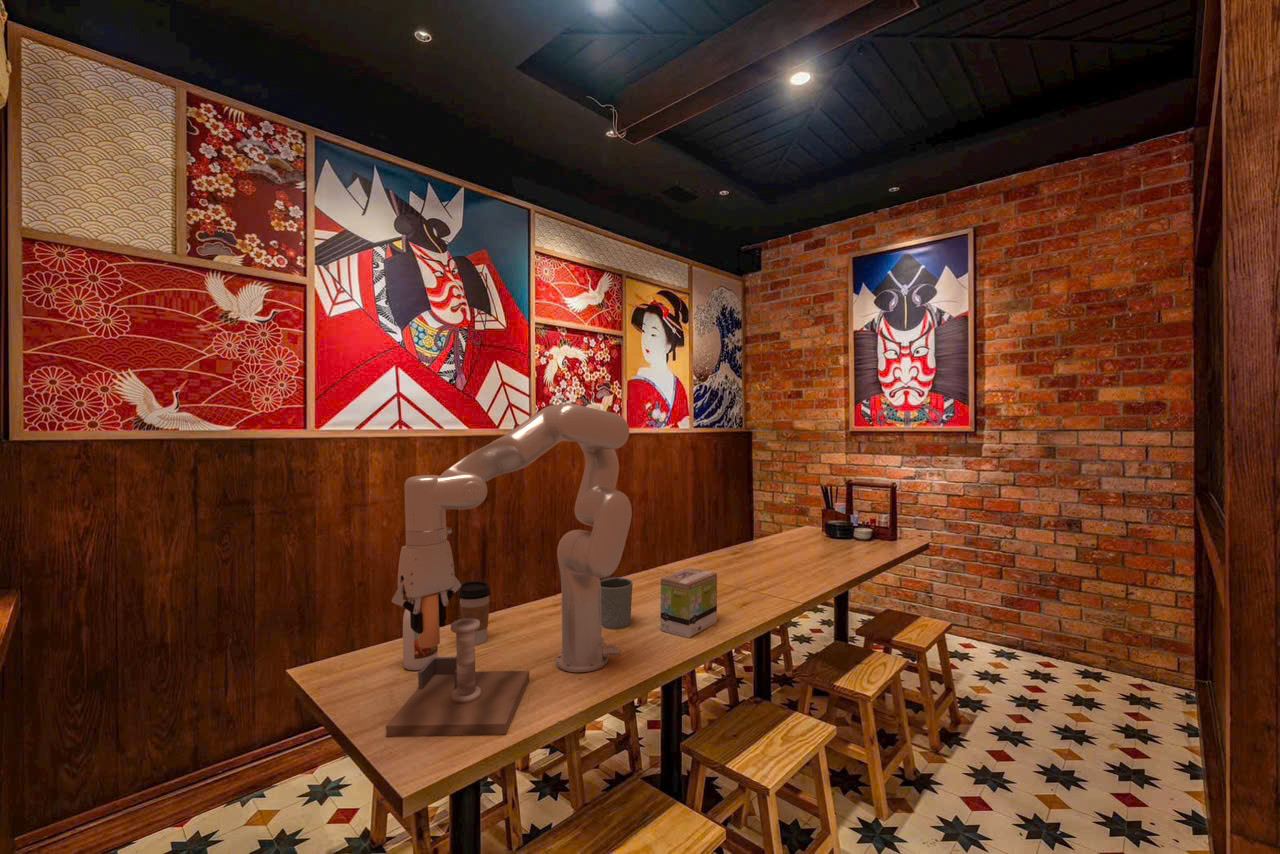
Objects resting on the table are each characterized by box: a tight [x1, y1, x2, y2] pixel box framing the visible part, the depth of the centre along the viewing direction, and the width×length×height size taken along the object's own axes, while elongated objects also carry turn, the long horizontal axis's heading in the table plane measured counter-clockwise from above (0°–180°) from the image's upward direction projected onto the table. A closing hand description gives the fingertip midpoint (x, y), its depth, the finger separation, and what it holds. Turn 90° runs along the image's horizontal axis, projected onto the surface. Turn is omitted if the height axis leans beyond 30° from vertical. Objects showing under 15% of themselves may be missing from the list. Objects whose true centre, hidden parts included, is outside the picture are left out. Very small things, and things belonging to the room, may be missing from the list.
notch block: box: [417, 656, 457, 689], centre depth 119 cm, size 8×8×4 cm
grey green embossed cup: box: [600, 577, 634, 630], centre depth 157 cm, size 10×10×12 cm
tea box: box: [659, 567, 718, 639], centre depth 154 cm, size 15×10×15 cm, turn 143°
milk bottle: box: [402, 608, 439, 671], centre depth 132 cm, size 8×8×20 cm
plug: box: [418, 593, 441, 648], centre depth 109 cm, size 4×4×10 cm
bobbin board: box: [385, 618, 530, 738], centre depth 112 cm, size 22×22×17 cm
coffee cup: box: [457, 580, 492, 646], centre depth 146 cm, size 8×8×15 cm
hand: (428, 627), depth 109 cm, fingers closed on plug, 4 cm apart
